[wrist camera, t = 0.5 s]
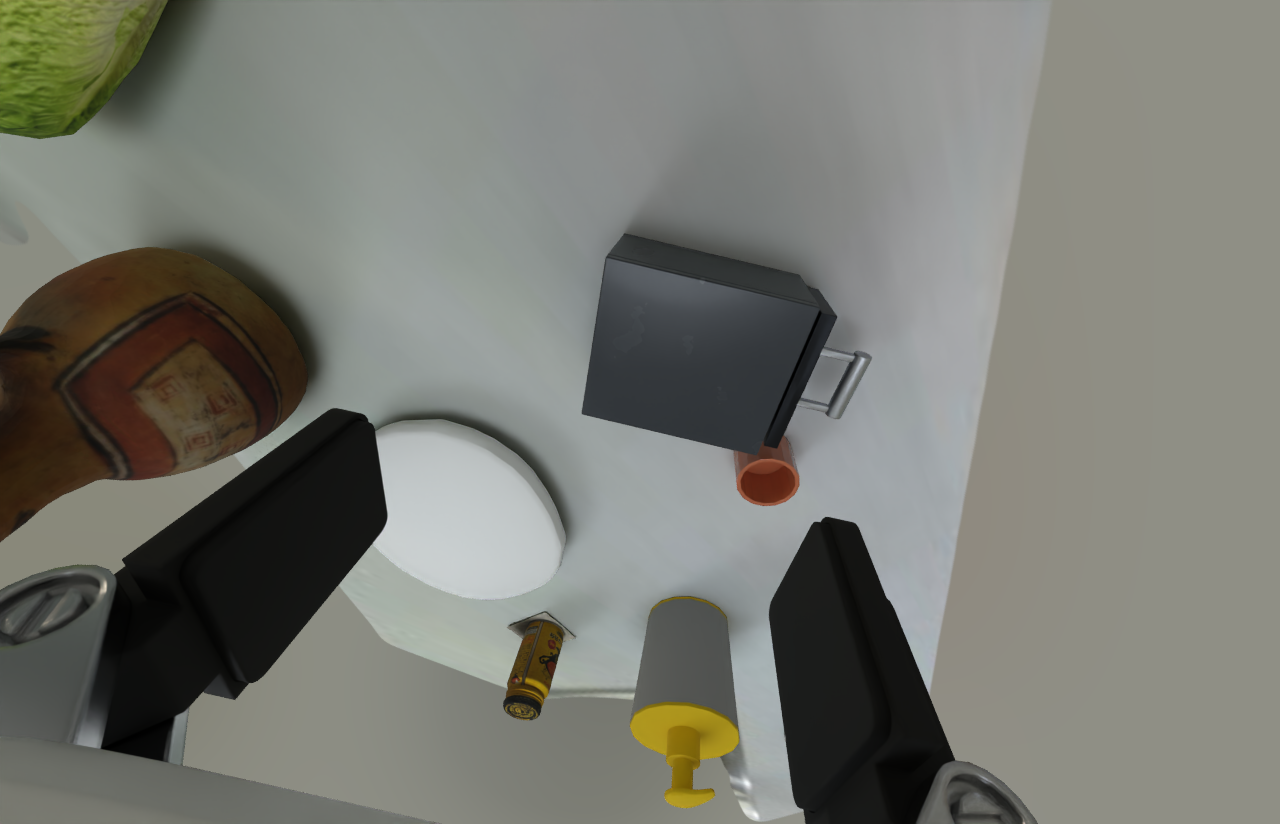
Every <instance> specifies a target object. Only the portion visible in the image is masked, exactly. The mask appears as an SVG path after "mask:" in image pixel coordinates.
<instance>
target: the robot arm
mask: <svg viewBox="0 0 1280 824" xmlns="http://www.w3.org/2000/svg"><path fill="white" fill-rule="evenodd" d="M387 518H388V513H387V506H386V500H385V493H384V487H383V480H382V473H381V467H380V460H379V454H378V447H377V441H376V434H375V428H374V426H373V424H372V423H369V422H368V419H367V417H366V416H365V415H363V414H361V413H356V412H351V411H347V410H342V409H338V408H333V409H330V410H328V411H327V412H325V413H324V414H322V415H321V416H320V417H318V418H317V419H316V420H314V421H313V422H311V423H310V424H309V425H307V426H306V427H304V428H303V429H302V430H300V431H299V432H298V433H296V434H295V435H293V436H292V437H291V438H289V439H288V440H286V441H285V442H284V443H282V444H281V445H280V446H278V447H277V448H275V449H274V450H273V451H271V452H270V453H268V454H267V455H266V456H264V457H263V458H262V459H260V460H259V461H257V462H256V463H255V464H253V465H252V466H250V467H249V468H248V469H246V470H245V471H244V472H242V473H241V474H239V475H238V476H237V477H235V478H234V479H233V480H231V481H230V482H228V483H227V484H226V485H224V486H223V487H222V488H220V489H219V490H218V491H216V492H214V493H213V494H212V495H210V496H209V497H208V498H206V499H205V500H203V501H202V502H201V503H199V504H198V505H197V506H195V507H194V508H192V509H191V510H190V511H188V512H187V513H185V514H184V515H183V516H181V517H180V518H178V519H177V520H176V521H175V522H173V523H172V524H170V525H169V526H167V527H166V528H165V529H163V530H162V531H160V532H159V533H158V534H156V535H155V536H154V537H152V538H151V539H149V540H148V541H147V542H145V543H144V544H142V545H141V546H140V547H138V548H137V549H136V550H134V551H133V552H132V553H130V554H129V555H127V556H126V557H124V558H123V559H122V561H123V562H124V564H125V567H124V568H122V569H121V570H120V571H118V572H117V573H115V574H114V575H113V574H112V573H111V571H109V569H106V568H103V567H100V566H97V565H72V566H66V567H60V568H55V569H51V570H48V571H44V572H41V573H38V574H34V575H31V576H29V577H27V578H25V579H22V580H20V581H18V582H15V583H13V584H11V585H8V586H6V587H5V588H3V589H1V590H0V824H440V823H436V822H431V821H427V820H423V819H418V818H414V817H410V816H405V815H401V814H396V813H392V812H388V811H383V810H378V809H375V808H370V807H366V806H361V805H357V804H353V803H348V802H343V801H339V800H335V799H330V798H326V797H321V796H317V795H312V794H308V793H304V792H299V791H295V790H290V789H286V788H281V787H277V786H272V785H268V784H263V783H259V782H255V781H250V780H246V779H241V778H237V777H232V776H227V775H223V774H219V773H214V772H210V771H205V770H201V769H197V768H192V767H187V766H183V757H184V748H185V740H186V739H185V738H186V731H187V722H188V713H189V707H190V705H191V704H192V703H193V702H194V701H195V700H196V698H198V696H199V695H200V694H201V693H202V692H203V691H204V693H207V694H211V695H215V696H220V697H224V698H229V699H233V700H235V699H236V698H237V697H238V696H239V695H240V693H241V692H242V691H243V689H245V687H246V686H247V685H248V684H249V683H254V682H256V681H258V680H259V679H260V678H262V677H263V676H264V675H265V674H266V672H267V671H268V670H269V669H270V668H271V666H272V665H273V664H274V663H275V662H276V660H277V659H278V658H279V657H280V655H281V654H282V653H283V652H284V650H285V649H286V648H287V647H288V646H289V644H290V643H291V642H292V641H293V639H294V638H295V637H296V636H297V635H298V634H299V632H300V631H301V630H302V629H303V627H304V626H305V625H306V624H307V623H308V621H309V620H310V619H311V618H312V616H313V615H314V614H315V613H316V612H317V610H318V609H319V608H320V607H321V605H322V604H323V603H324V602H325V601H326V599H327V598H328V597H329V596H330V595H331V593H332V592H333V591H334V589H335V588H336V587H337V586H338V585H339V584H340V582H341V581H342V580H343V579H344V577H345V576H346V575H347V574H348V573H349V571H350V570H351V569H352V568H353V566H354V565H355V564H356V563H357V562H358V560H359V559H360V558H361V557H362V556H363V554H364V553H365V552H366V551H367V549H368V548H369V547H370V546H371V545H372V543H373V542H374V541H375V540H376V538H377V537H378V536H379V535H380V534H381V532H382V531H383V529H384V527H385V525H386V523H387ZM769 621H770V628H771V636H772V643H773V651H774V658H775V665H776V673H777V680H778V688H779V695H780V702H781V710H782V717H783V725H784V732H785V740H786V747H787V754H788V762H789V769H790V777H791V784H792V792H793V797H794V800H795V803H796V805H797V807H799V808H801V809H803V810H804V816H805V823H806V824H1038V823H1037V821H1036V820H1035V818H1034V817H1033V815H1032V814H1031V813H1030V811H1029V810H1028V809H1027V807H1026V806H1025V805H1024V804H1023V802H1022V801H1021V800H1020V798H1018V796H1017V795H1016V794H1015V793H1014V792H1013V791H1012V790H1010V788H1009V787H1008V786H1007V785H1006V784H1005V783H1003V782H1002V781H1001V780H999V779H998V778H997V777H995V776H994V775H993V774H991V773H990V772H988V771H987V770H985V769H983V768H981V767H979V766H976V765H974V764H972V763H970V762H963V761H956V760H955V758H954V756H953V753H952V751H951V749H950V746H949V743H948V741H947V738H946V736H945V734H944V731H943V729H942V726H941V724H940V721H939V719H938V716H937V714H936V712H935V709H934V706H933V704H932V701H931V699H930V696H929V694H928V691H927V689H926V686H925V684H924V681H923V679H922V676H921V674H920V671H919V669H918V667H917V664H916V662H915V659H914V657H913V654H912V652H911V649H910V647H909V644H908V642H907V639H906V637H905V634H904V632H903V629H902V627H901V624H900V622H899V619H898V617H897V614H896V612H895V610H894V608H893V606H892V604H891V602H890V601H889V600H888V599H887V598H886V596H885V593H884V591H883V588H882V586H881V583H880V580H879V578H878V575H877V573H876V570H875V568H874V565H873V563H872V560H871V558H870V555H869V553H868V550H867V548H866V545H865V543H864V540H863V538H862V535H861V532H860V530H859V528H858V526H857V525H856V524H855V523H853V522H849V521H844V520H840V519H835V518H831V517H825V518H824V519H822V521H821V522H814V523H813V524H812V525H811V527H810V529H809V531H808V533H807V535H806V537H805V538H804V540H803V542H802V544H801V546H800V548H799V550H798V552H797V554H796V555H795V557H794V559H793V561H792V563H791V565H790V567H789V569H788V570H787V572H786V574H785V576H784V578H783V580H782V582H781V584H780V586H779V587H778V589H777V591H776V593H775V595H774V597H773V599H772V601H771V604H770V609H769Z"/></svg>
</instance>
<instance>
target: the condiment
mask: <svg viewBox="0 0 1280 824" xmlns="http://www.w3.org/2000/svg"><path fill="white" fill-rule="evenodd" d="M507 628H508V629H510V630H512V631H513V632H514V633H516V634H517V635H519V636H520V637H521V638H522V639H523V640H522V643H521V646H520V649H519V651H518V654H517V657H516V660H515V663H514V666H513V668H512V671H511V674H510V677H509V680H508V683H507V687H508V690H507V693H506V698H505V700H504V703H503V704H504V705H503V707H504V710H505V711H506V713H508V714H509V715H510V716H512V717H514V718H517V719H521V720H533V719H536V718H537V717H538V716H539V715H540V712H541V708H542V705H543V703H544V699H545V698H546V697H547V696H548V693H549V690H550V687H551V683H552V679H553V675H554V672H555V669H556V665H557V661H558V657H559V654H560V651H561V647H562V643H563V642H565V641H567V640H570V639H574V638H575V637H574V636H573V635H572V634H571V633H569V631H568V630H566V629H565V628H564V627H563V626H562V625H561V624H559V623H558V622H557V621H556V620H554V619H553V618H551V617H550V616H549V615H548V614H547V613H546V612H545V613H542V614H539V615H536V616H533V617H531V618H528V619H526V620H524V621H522V622H519V623H516V624H514V625H512V626H509V627H507Z"/></svg>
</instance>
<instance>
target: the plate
mask: <svg viewBox="0 0 1280 824" xmlns="http://www.w3.org/2000/svg"><path fill="white" fill-rule="evenodd" d="M375 434H376V441H377V447H378V454H379V460H380V467H381V473H382V480H383V487H384V493H385V500H386V506H387V513H388V518H387V523H386V525H385V527H384V529H383V531H382V532H381V534H380V535H379V536H378V537H377V538H376V540H375V541H374V542H373V543H372V544H373V545H374V546H375V547H376V548H377V549H378V550H379V551H380V552H381V553H382V554H383V555H384V556H385V557H386V558H387V559H388V560H389V561H391V562H392V563H393V564H395V565H396V566H397V567H399V568H400V569H402V570H403V571H404V572H406V573H408V574H410V575H411V576H413V577H415V578H417V579H419V580H421V581H422V582H424V583H426V584H428V585H430V586H432V587H435V588H437V589H440V590H442V591H444V592H447V593H450V594H454V595H457V596H460V597H464V598H472V599H482V600H497V599H506V598H510V597H514V596H518V595H522V594H525V593H528V592H530V591H532V590H535V589H537V588H539V587H540V586H542V585H544V584H545V583H547V582H549V581H550V580H551V579H552V577H553V576H554V575H555V573H556V572H557V570H558V569H559V567H560V566H561V563H562V558H563V553H564V547H565V542H566V534H565V531H564V528H563V525H562V523H561V520H560V517H559V514H558V511H557V508H556V506H555V504H554V502H553V500H552V499H551V497H550V495H549V493H548V491H547V490H546V488H545V487H544V485H543V484H542V482H541V481H540V479H539V478H538V476H537V475H536V474H535V472H534V471H533V469H532V468H531V467H530V466H529V465H528V464H527V463H526V462H525V461H524V460H523V459H522V458H521V457H520V456H519V455H517V454H516V453H515V452H513V451H512V450H510V449H509V448H507V447H506V446H504V445H503V444H501V443H500V442H499V441H497V440H496V439H494V438H492V437H490V436H488V435H486V434H484V433H482V432H480V431H478V430H476V429H474V428H470V427H467V426H464V425H460V424H457V423H454V422H451V421H447V420H444V419H431V420H403V421H399V422H396V423H392V424H389V425H385V426H383V427H381V428H380V429H378V430H377V431H375Z"/></svg>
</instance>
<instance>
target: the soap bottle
mask: <svg viewBox="0 0 1280 824" xmlns="http://www.w3.org/2000/svg"><path fill="white" fill-rule="evenodd" d="M630 728H631V731H632V733H633V736H634V737H635V738H636V739H637V740H638V741H639V742H641V743H642V744H643V745H644V746H645V747H648V748H650V749H652V750H654V751H656V752H658V753H661V754H664V755H666V762H667V764H668V765H670V766H671V767H673V769H672V788H670V789H668V790H666V791H665V795H664V796H665V799H666V801H667V802H668V803H669V804H671V805H673V806H675V807H680V808H692V807H695V806H698V805H700V804H703V803H705V802H707V801H709V800H711V799H712V798H713V797H714V796H715V793H714V790H713V789H711V788H710V789H702V790H693V788H692V787H693V770H695V769H697V768H698V767H699V766H700V760H702V759H709V758H715V757H720V756H722V755H724V754H727V753H729V752H731V751H733V750H734V748H735V747H736V746H737V744H738V743H739V730H738V720H737V711H736V701H735V692H734V682H733V673H732V663H731V654H730V644H729V635H728V624H727V617H726V616H725V614H724V613H723V612H722V611H721V609H720V608H719V607H717V606H715V605H713V604H712V603H710V602H708V601H706V600H702V599H698V598H694V597H673V598H670V599H666V600H663V601H661V602H659V603H658V604H657V605H655V606H654V607H653V608H652V610H651V612H650V615H649V619H648V625H647V630H646V636H645V641H644V647H643V652H642V658H641V664H640V669H639V675H638V680H637V686H636V692H635V697H634V703H633V708H632V714H631V720H630Z"/></svg>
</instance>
